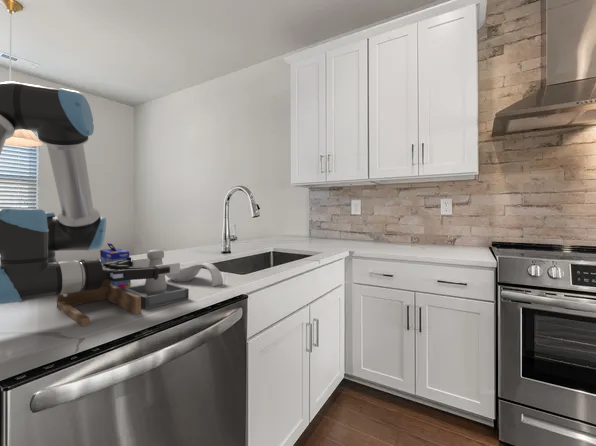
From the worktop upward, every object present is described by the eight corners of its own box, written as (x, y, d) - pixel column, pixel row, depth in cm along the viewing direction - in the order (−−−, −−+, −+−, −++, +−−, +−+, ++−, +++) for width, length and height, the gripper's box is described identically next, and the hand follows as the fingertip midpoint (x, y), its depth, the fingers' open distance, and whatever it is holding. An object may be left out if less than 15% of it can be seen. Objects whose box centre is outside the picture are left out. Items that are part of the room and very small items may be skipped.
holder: (56, 307, 79) (56, 271, 78) (108, 297, 88) (108, 265, 88) (83, 326, 66) (82, 284, 66) (140, 312, 75) (140, 276, 75)
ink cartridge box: (99, 287, 99) (99, 242, 98) (118, 284, 103) (118, 241, 102) (111, 293, 92) (111, 244, 92) (131, 289, 97) (131, 243, 96)
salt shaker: (142, 299, 84) (142, 251, 83) (145, 294, 89) (145, 249, 88) (166, 297, 86) (166, 251, 85) (167, 292, 91) (167, 248, 90)
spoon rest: (157, 281, 110) (157, 261, 110) (183, 275, 120) (183, 256, 120) (206, 290, 99) (206, 267, 99) (231, 282, 109) (231, 262, 109)
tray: (122, 298, 87) (122, 288, 87) (163, 290, 96) (163, 281, 96) (145, 309, 78) (145, 297, 78) (188, 299, 88) (188, 288, 87)
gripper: (64, 283, 81) (146, 271, 97) (99, 301, 65) (190, 284, 82) (64, 254, 81) (146, 247, 97) (99, 266, 65) (190, 256, 81)
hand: (166, 264), depth 89 cm, fingers open, 13 cm apart
